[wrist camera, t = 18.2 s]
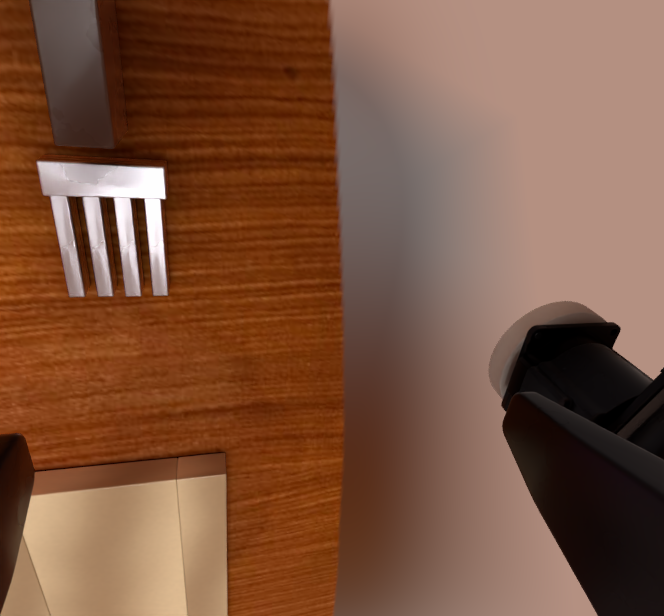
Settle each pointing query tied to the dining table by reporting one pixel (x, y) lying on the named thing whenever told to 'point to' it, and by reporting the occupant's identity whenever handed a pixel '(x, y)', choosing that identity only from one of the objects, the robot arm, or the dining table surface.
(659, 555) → the robot arm
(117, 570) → the board
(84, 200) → the fork
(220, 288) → the dining table surface
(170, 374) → the dining table surface
